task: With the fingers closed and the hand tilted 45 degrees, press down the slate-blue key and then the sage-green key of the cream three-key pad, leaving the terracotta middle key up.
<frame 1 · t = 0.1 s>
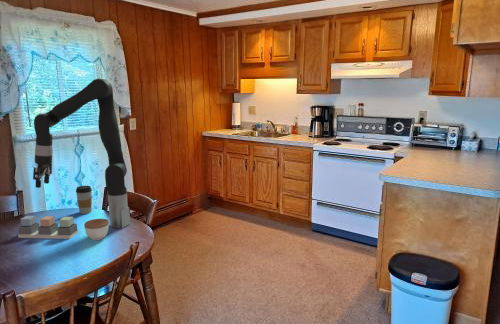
hand: (42, 185, 178), 22 cm above the table, tool pointing down, fingers open, 8 cm apart
keypad board: (48, 235, 173), on the table
coffee cup: (85, 212, 205), on the table
terracotta key: (47, 221, 171), point 7 cm above the table, slide at 0.0 cm
sage key: (66, 221, 171), point 7 cm above the table, slide at 0.0 cm
slate key: (28, 220, 172), point 7 cm above the table, slide at 0.0 cm
lidded jar: (97, 238, 170), on the table
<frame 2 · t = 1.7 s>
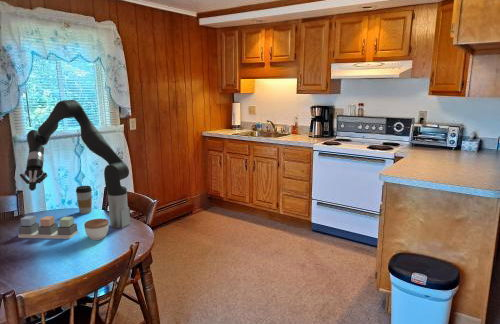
hand: (32, 189, 181), 19 cm above the table, tool tilted 45°, fingers closed
nothing on the table moved.
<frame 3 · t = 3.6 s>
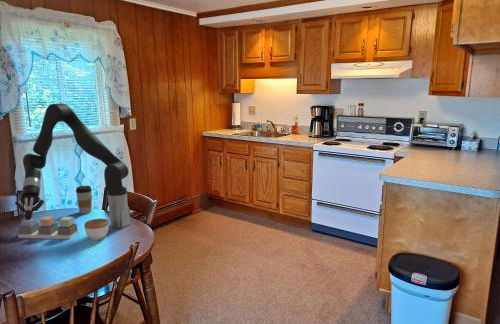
hand: (28, 218, 171), 8 cm above the table, tool tilted 45°, fingers closed
slate key: (28, 223, 172), point 6 cm above the table, slide at 1.3 cm, touching gripper
everything else where it was.
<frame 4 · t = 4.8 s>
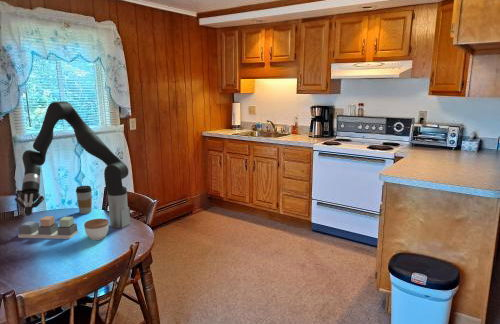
hand: (27, 214, 171), 10 cm above the table, tool tilted 45°, fingers closed
slate key: (29, 226, 172), point 4 cm above the table, slide at 3.0 cm
everything else where it was.
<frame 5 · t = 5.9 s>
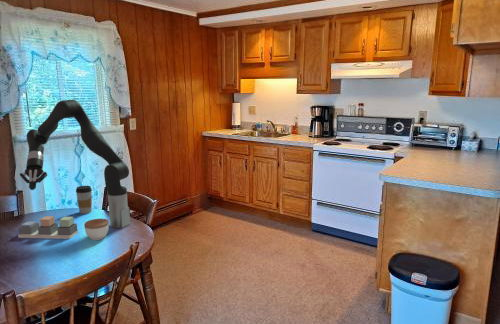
hand: (32, 189, 181), 20 cm above the table, tool tilted 45°, fingers closed
nothing on the table moved.
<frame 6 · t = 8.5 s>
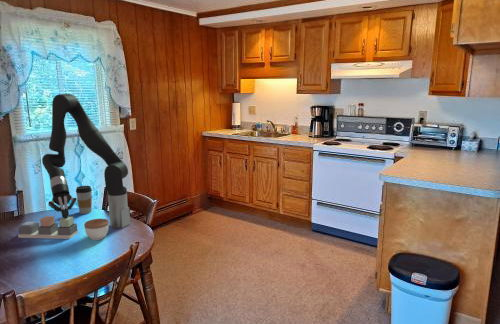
hand: (66, 217, 170), 9 cm above the table, tool tilted 45°, fingers closed
sage key: (66, 221, 171), point 7 cm above the table, slide at 0.0 cm, touching gripper
everything else where it was.
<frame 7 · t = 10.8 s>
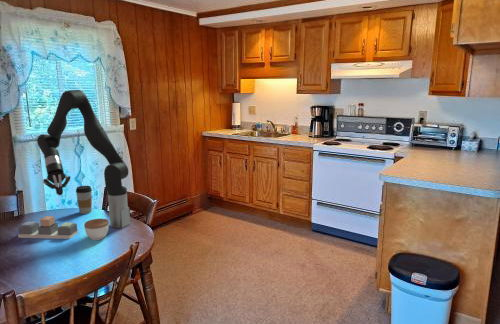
hand: (60, 194, 177), 18 cm above the table, tool tilted 45°, fingers closed
sage key: (67, 227, 171), point 4 cm above the table, slide at 3.0 cm
everything else where it was.
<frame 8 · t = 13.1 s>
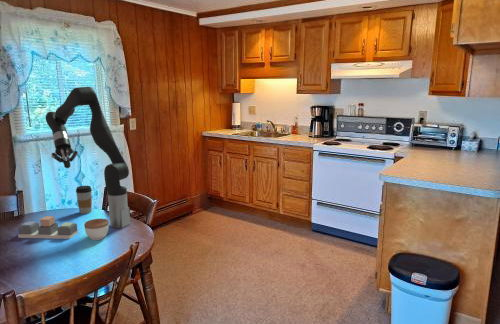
hand: (67, 167, 185), 30 cm above the table, tool tilted 45°, fingers closed
nothing on the table moved.
at the end: slate key slide at 3.0 cm; sage key slide at 3.0 cm; terracotta key slide at 0.0 cm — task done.
